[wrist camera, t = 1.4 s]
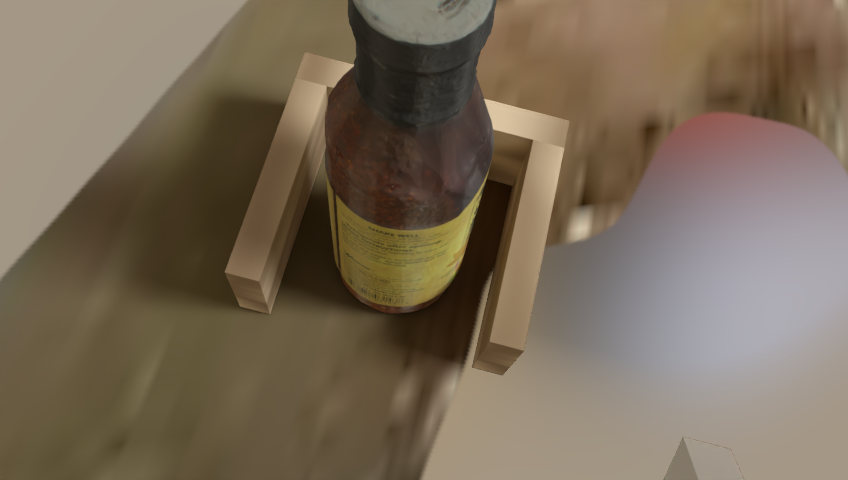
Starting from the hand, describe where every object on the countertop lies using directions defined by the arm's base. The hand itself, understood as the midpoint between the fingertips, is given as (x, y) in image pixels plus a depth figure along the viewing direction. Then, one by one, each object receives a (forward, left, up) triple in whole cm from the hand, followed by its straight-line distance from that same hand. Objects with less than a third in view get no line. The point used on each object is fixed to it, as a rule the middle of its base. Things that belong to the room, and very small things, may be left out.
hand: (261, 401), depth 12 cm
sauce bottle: (0, -12, -24) cm, 27 cm away
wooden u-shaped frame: (0, -13, -24) cm, 27 cm away
